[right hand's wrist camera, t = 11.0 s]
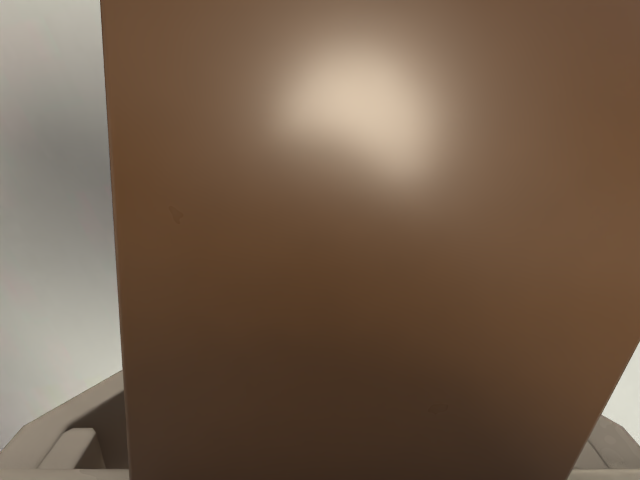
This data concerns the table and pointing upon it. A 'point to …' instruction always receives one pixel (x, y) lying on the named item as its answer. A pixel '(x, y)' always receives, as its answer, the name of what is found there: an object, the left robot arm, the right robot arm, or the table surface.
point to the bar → (372, 233)
